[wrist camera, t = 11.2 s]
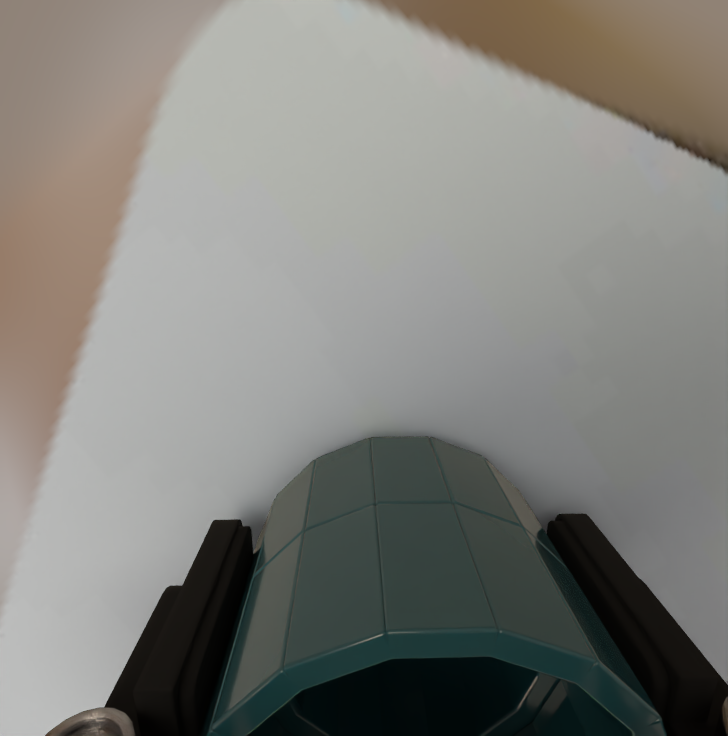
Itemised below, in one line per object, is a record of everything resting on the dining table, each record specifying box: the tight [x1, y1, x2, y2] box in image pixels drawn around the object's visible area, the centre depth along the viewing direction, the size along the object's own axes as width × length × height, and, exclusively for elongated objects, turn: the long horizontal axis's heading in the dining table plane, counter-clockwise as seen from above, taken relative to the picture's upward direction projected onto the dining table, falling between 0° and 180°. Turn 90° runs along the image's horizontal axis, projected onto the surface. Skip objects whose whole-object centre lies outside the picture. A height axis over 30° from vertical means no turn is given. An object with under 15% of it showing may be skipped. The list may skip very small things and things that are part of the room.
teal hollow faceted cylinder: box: [199, 436, 667, 736], centre depth 9 cm, size 6×6×6 cm
